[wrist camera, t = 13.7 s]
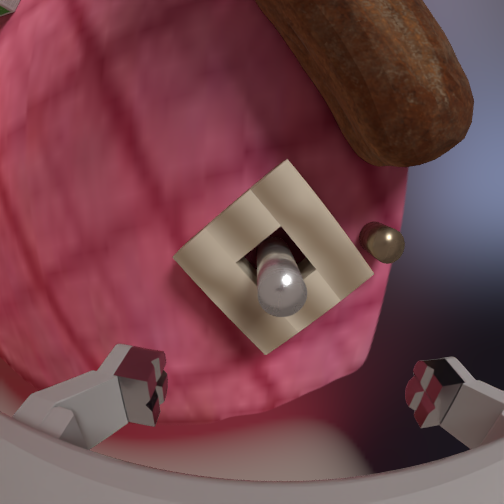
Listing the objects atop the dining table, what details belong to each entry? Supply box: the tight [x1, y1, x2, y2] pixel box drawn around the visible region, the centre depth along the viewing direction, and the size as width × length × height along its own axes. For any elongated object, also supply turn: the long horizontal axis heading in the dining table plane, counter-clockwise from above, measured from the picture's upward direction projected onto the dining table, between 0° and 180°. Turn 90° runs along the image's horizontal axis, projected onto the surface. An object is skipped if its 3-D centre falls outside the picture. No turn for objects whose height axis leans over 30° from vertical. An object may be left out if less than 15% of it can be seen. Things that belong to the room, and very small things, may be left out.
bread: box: [255, 0, 474, 167], centre depth 22 cm, size 14×28×12 cm, turn 30°
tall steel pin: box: [257, 237, 307, 317], centre depth 28 cm, size 4×4×12 cm
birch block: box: [173, 159, 374, 355], centre depth 31 cm, size 14×14×5 cm
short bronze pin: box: [359, 222, 405, 264], centre depth 31 cm, size 4×4×4 cm
